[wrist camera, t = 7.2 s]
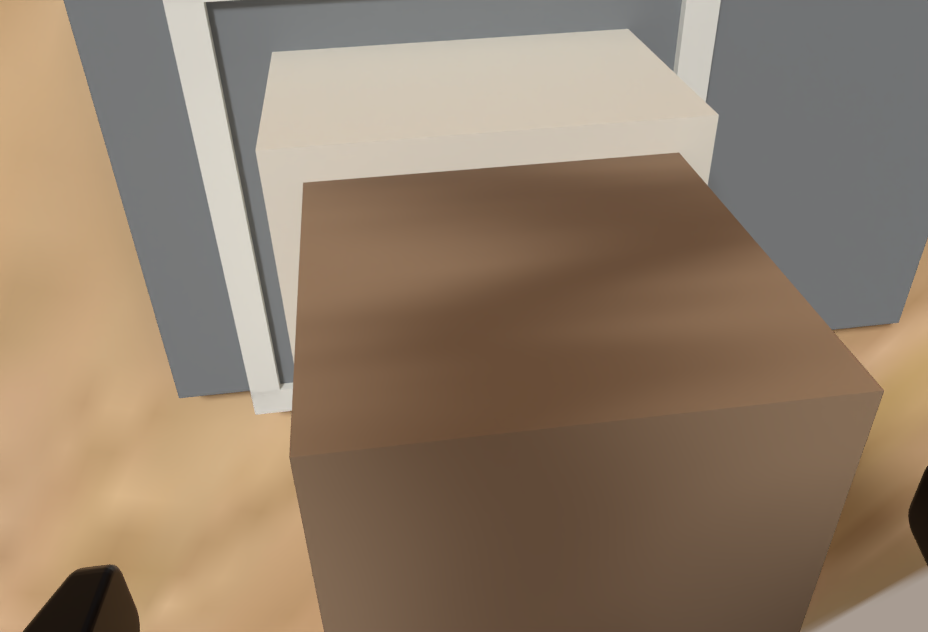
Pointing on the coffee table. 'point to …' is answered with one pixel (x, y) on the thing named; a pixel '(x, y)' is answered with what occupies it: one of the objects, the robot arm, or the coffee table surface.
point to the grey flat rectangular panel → (503, 15)
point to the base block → (463, 115)
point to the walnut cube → (562, 406)
